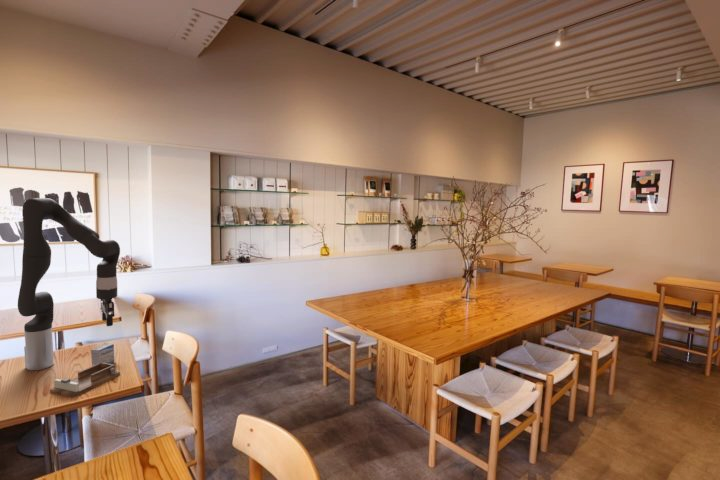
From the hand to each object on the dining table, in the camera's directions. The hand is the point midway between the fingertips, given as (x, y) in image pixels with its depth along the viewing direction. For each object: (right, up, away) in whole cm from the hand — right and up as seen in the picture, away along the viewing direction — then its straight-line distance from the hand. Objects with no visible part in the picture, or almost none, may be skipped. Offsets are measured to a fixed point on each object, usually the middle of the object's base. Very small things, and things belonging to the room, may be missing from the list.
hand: (107, 323), depth 162 cm
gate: (-4, -22, -17) cm, 28 cm away
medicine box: (-7, -21, +8) cm, 23 cm away
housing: (-2, -23, -9) cm, 25 cm away
